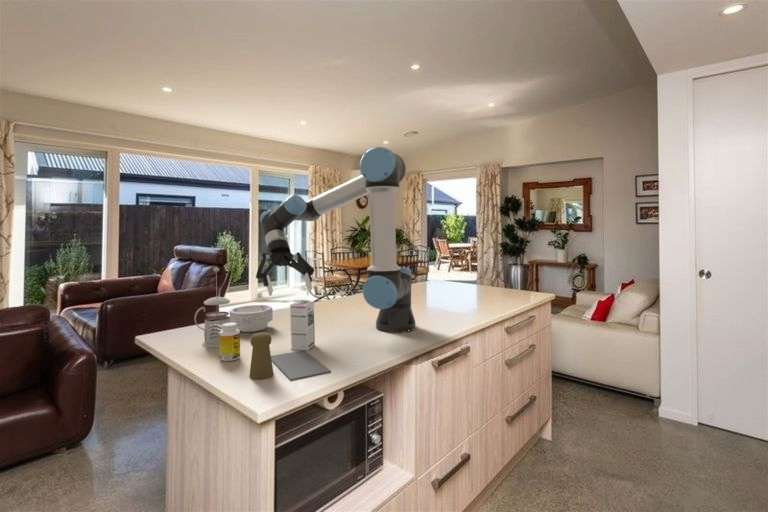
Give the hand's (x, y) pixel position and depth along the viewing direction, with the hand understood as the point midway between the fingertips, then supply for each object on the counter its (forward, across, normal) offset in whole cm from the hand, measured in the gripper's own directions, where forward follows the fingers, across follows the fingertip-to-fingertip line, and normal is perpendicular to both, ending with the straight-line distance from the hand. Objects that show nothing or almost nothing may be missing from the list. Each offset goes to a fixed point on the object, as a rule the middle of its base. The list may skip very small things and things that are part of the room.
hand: (291, 291), depth 131 cm
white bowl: (-3, +9, -26) cm, 28 cm away
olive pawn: (+31, +17, +8) cm, 36 cm away
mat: (+29, +6, +6) cm, 30 cm away
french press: (+6, +23, -18) cm, 30 cm away
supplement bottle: (+19, +22, -5) cm, 29 cm away
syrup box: (+19, 0, -4) cm, 20 cm away
